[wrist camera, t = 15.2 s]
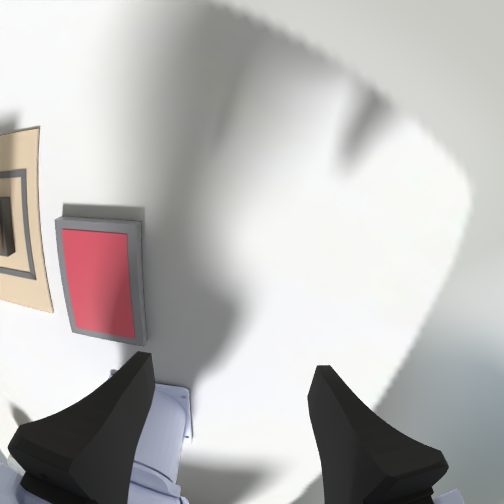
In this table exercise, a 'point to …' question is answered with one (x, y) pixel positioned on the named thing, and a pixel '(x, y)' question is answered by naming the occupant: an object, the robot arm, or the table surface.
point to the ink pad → (102, 277)
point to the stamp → (6, 228)
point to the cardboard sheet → (23, 223)
